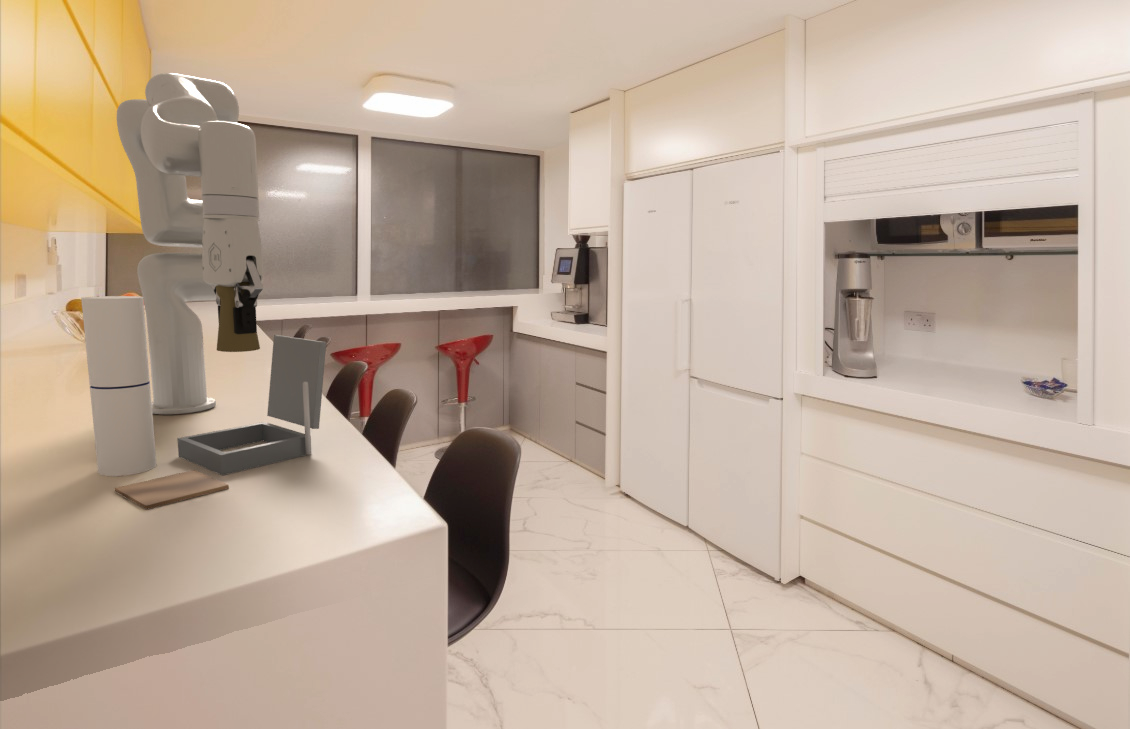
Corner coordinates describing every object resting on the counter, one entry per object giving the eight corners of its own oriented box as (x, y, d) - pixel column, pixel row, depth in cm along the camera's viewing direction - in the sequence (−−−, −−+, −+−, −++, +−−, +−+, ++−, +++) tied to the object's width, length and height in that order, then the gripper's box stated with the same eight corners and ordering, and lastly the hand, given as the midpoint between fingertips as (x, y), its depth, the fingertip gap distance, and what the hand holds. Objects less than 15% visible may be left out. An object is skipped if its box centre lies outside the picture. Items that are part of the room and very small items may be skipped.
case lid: (274, 335, 111) (279, 335, 112) (267, 415, 112) (272, 415, 112) (320, 341, 103) (326, 342, 103) (313, 428, 103) (318, 428, 104)
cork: (207, 349, 98) (202, 277, 96) (240, 345, 104) (236, 276, 102) (237, 353, 96) (233, 278, 94) (269, 348, 102) (265, 277, 100)
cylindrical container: (92, 478, 90) (74, 298, 86) (104, 463, 97) (88, 296, 93) (151, 472, 93) (137, 298, 89) (160, 458, 99) (147, 296, 96)
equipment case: (178, 456, 101) (173, 381, 99) (265, 438, 112) (261, 370, 110) (226, 477, 92) (221, 394, 90) (315, 455, 103) (312, 381, 101)
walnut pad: (114, 491, 85) (114, 487, 85) (194, 473, 93) (194, 469, 93) (146, 509, 79) (146, 505, 79) (228, 488, 87) (228, 484, 87)
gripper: (179, 209, 98) (187, 328, 101) (233, 206, 88) (241, 339, 91) (229, 212, 104) (235, 325, 107) (285, 210, 94) (290, 335, 97)
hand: (237, 330), depth 99 cm, fingers closed on cork, 4 cm apart
